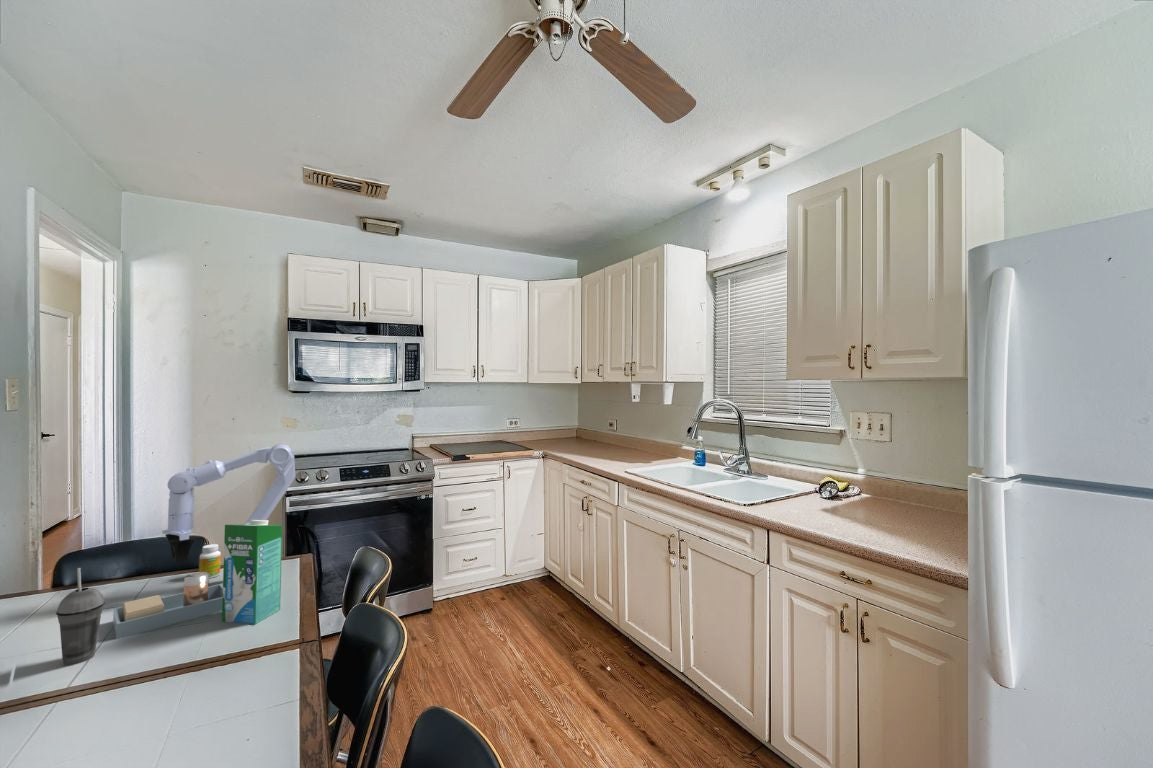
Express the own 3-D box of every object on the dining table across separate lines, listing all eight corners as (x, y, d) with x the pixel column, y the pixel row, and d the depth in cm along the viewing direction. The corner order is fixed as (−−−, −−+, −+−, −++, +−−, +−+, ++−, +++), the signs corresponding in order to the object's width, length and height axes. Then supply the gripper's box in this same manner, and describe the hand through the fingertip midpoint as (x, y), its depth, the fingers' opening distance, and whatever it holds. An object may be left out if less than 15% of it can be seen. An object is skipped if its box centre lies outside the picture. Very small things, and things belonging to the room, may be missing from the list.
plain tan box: (159, 613, 122) (159, 594, 122) (163, 624, 116) (164, 604, 116) (121, 622, 117) (122, 602, 117) (124, 634, 111) (125, 613, 111)
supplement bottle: (206, 580, 146) (207, 549, 146) (194, 578, 148) (195, 547, 148) (224, 574, 151) (225, 544, 152) (212, 572, 153) (213, 542, 153)
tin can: (206, 603, 128) (207, 570, 128) (208, 609, 124) (210, 575, 124) (181, 609, 124) (183, 575, 125) (183, 615, 121) (185, 580, 121)
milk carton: (280, 609, 126) (282, 516, 127) (254, 625, 117) (257, 525, 118) (249, 607, 127) (252, 515, 128) (221, 623, 118) (224, 524, 119)
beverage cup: (70, 673, 96) (74, 575, 97) (44, 669, 98) (48, 573, 98) (111, 654, 103) (115, 563, 104) (86, 651, 105) (90, 561, 105)
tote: (221, 597, 133) (221, 583, 133) (230, 610, 125) (231, 595, 125) (113, 624, 117) (113, 608, 117) (116, 641, 109) (116, 624, 109)
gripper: (159, 511, 138) (158, 557, 138) (166, 520, 128) (164, 569, 128) (190, 507, 143) (188, 552, 143) (198, 515, 134) (197, 563, 133)
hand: (179, 560), depth 136 cm, fingers open, 7 cm apart
